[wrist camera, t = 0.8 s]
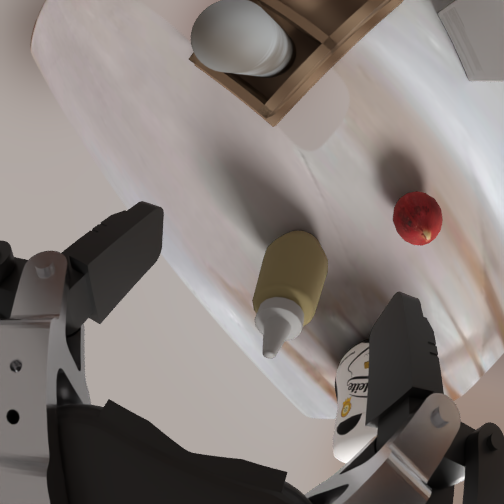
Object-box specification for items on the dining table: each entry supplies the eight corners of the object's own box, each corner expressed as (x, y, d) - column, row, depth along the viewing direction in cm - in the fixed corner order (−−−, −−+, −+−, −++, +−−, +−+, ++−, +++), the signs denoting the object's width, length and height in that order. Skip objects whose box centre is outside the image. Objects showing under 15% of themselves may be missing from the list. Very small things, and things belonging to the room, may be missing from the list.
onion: (380, 214, 34) (389, 246, 27) (402, 174, 30) (418, 198, 24) (417, 234, 33) (432, 269, 27) (440, 197, 30) (462, 226, 23)
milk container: (387, 308, 40) (393, 414, 25) (448, 352, 41) (462, 441, 26) (318, 362, 50) (300, 452, 35) (381, 395, 51) (377, 474, 36)
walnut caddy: (316, -57, 18) (299, -117, 7) (401, 2, 20) (434, -41, 8) (199, 65, 30) (130, 62, 19) (275, 125, 32) (239, 147, 21)
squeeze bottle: (308, 283, 42) (284, 390, 27) (259, 255, 42) (212, 353, 27) (341, 243, 37) (334, 351, 22) (288, 210, 37) (247, 304, 22)
